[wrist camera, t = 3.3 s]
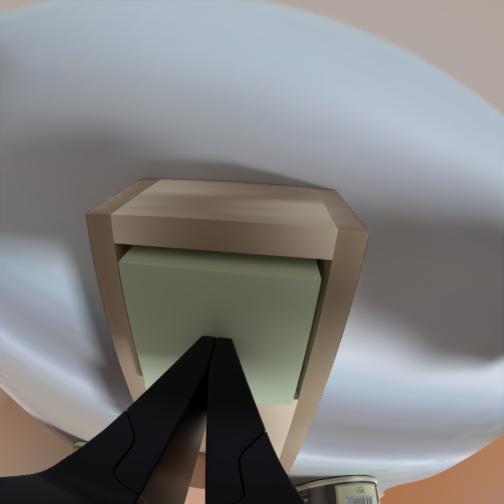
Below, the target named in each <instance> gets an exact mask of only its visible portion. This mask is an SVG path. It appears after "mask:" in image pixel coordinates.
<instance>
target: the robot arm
mask: <svg viewBox="0 0 504 504" xmlns="http://www.w3.org/2000/svg"><path fill="white" fill-rule="evenodd" d="M205 429H206V450H205V504H306V503H305V501H304V500H303V498H302V497H301V495H300V494H299V492H298V490H297V489H296V487H295V486H294V484H293V483H292V481H291V480H290V478H289V476H288V475H287V473H286V471H285V469H284V468H283V466H282V464H281V462H280V460H279V458H278V456H277V454H276V452H275V450H274V448H273V445H272V443H271V441H270V438H269V436H268V433H267V432H266V429H265V426H264V423H263V421H262V418H261V416H260V413H259V411H258V408H257V405H256V403H255V400H254V397H253V395H252V392H251V389H250V387H249V384H248V381H247V379H246V376H245V373H244V371H243V368H242V365H241V362H240V359H239V357H238V354H237V351H236V348H235V345H234V343H233V340H232V339H231V338H225V337H218V338H216V337H214V336H206V335H203V336H201V337H200V338H199V339H198V340H197V341H196V342H195V343H194V344H193V345H192V346H191V347H190V348H189V349H188V350H187V351H186V352H185V353H184V354H183V355H182V356H181V357H180V358H179V359H178V360H177V361H176V362H175V363H174V364H173V365H172V366H171V367H170V368H169V369H168V370H167V371H166V372H165V373H163V374H162V375H161V376H160V377H159V378H158V379H157V380H156V381H155V382H154V383H153V384H152V385H151V386H150V387H149V388H148V389H147V390H146V391H145V392H144V393H143V394H142V395H141V396H140V397H139V398H138V399H137V400H136V401H135V402H134V403H132V404H131V405H130V406H129V407H128V408H127V411H124V412H123V413H122V414H121V415H120V416H119V417H118V418H117V419H115V420H114V421H113V422H112V423H111V424H110V425H109V426H108V427H106V428H105V429H104V430H103V431H102V432H100V433H99V434H98V435H97V436H95V437H94V438H93V439H91V440H90V441H89V442H87V443H86V444H84V445H83V446H82V447H80V448H79V449H77V450H76V451H74V452H73V453H72V454H70V455H69V456H67V457H66V458H65V459H63V460H61V461H60V462H58V463H57V464H56V465H54V466H52V467H50V468H48V469H46V470H44V471H41V472H38V473H35V474H30V475H20V476H9V477H0V504H185V500H186V497H187V493H188V490H189V486H190V482H191V479H192V475H193V472H194V468H195V465H196V461H197V457H198V454H199V450H200V447H201V443H202V439H203V436H204V432H205Z"/></svg>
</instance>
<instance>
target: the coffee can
mask: <svg viewBox="0 0 504 504" xmlns="http://www.w3.org/2000/svg"><path fill="white" fill-rule="evenodd" d="M296 489H297V490H298V492H299V494H300V495H301V497H302V498H303V500H304V501H305V503H306V504H380V499H379V493H378V486H377V479H376V478H374V477H371V476H344V477H336V478H330V479H324V480H319V481H314V482H310V483H306V484H303V485H299V486H296Z"/></svg>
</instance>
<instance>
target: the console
mask: <svg viewBox="0 0 504 504" xmlns="http://www.w3.org/2000/svg"><path fill="white" fill-rule="evenodd" d="M86 219H87V226H88V233H89V239H90V245H91V251H92V256H93V262H94V267H95V272H96V276H97V281H98V286H99V290H100V294H101V299H102V303H103V307H104V311H105V315H106V318H107V322H108V326H109V329H110V333H111V336H112V340H113V343H114V347H115V350H116V353H117V356H118V359H119V362H120V365H121V368H122V371H123V374H124V377H125V380H126V383H127V386H128V388H129V391H130V394H131V396H132V399H133V402H135V401H136V400H137V399H138V398H139V397H140V396H141V395H142V394H143V393H144V392H145V391H146V390H147V387H146V384H145V381H144V377H143V374H142V370H141V367H140V363H139V359H138V355H137V352H136V348H135V344H134V340H133V336H132V331H131V327H130V323H129V318H128V313H127V309H126V304H125V299H124V294H123V288H122V283H121V277H120V271H119V265H118V262H119V261H120V260H121V259H122V257H123V256H124V255H125V254H126V253H127V252H128V251H129V250H130V249H131V247H132V246H133V245H144V246H156V247H169V248H182V249H195V250H208V251H221V252H234V253H247V254H260V255H273V256H287V257H300V258H313V259H316V262H317V266H318V269H319V273H320V276H321V284H320V289H319V294H318V299H317V303H316V308H315V313H314V317H313V322H312V326H311V331H310V335H309V339H308V343H307V348H306V352H305V356H304V360H303V364H302V368H301V372H300V376H299V380H298V383H297V387H296V391H295V395H294V398H293V402H292V405H281V404H261V403H256V405H257V408H258V411H259V413H260V416H261V418H262V421H263V423H264V426H265V429H266V432H267V433H268V436H269V438H270V441H271V443H272V445H273V448H274V450H275V452H276V454H277V456H278V458H279V460H280V462H281V464H282V466H283V468H284V469H285V471H286V473H287V475H288V474H289V472H290V469H291V467H292V465H293V463H294V461H295V459H296V457H297V454H298V452H299V450H300V448H301V445H302V443H303V441H304V438H305V436H306V434H307V431H308V429H309V427H310V424H311V422H312V419H313V417H314V414H315V412H316V409H317V407H318V404H319V402H320V399H321V396H322V394H323V391H324V388H325V385H326V383H327V380H328V377H329V374H330V372H331V369H332V366H333V363H334V360H335V357H336V354H337V351H338V348H339V345H340V342H341V338H342V335H343V332H344V329H345V325H346V322H347V319H348V315H349V312H350V308H351V305H352V301H353V298H354V294H355V290H356V286H357V283H358V279H359V275H360V271H361V267H362V263H363V258H364V254H365V250H366V245H367V241H368V236H369V232H368V230H367V229H366V228H365V226H364V225H363V224H362V223H361V221H360V220H359V219H358V217H357V216H356V215H355V214H354V212H353V211H352V210H351V209H350V207H349V206H348V205H347V204H346V202H345V201H344V200H343V199H342V197H341V196H340V195H339V194H338V193H337V191H334V190H325V189H315V188H305V187H295V186H284V185H272V184H258V183H244V182H227V181H206V180H176V179H141V180H139V181H137V182H136V183H134V184H132V185H130V186H129V187H127V188H125V189H124V190H122V191H121V192H119V193H117V194H116V195H114V196H112V197H111V198H109V199H108V200H106V201H104V202H103V203H101V204H100V205H98V206H97V207H95V208H94V209H92V210H91V211H89V212H87V213H86ZM205 450H206V429H205V432H204V436H203V439H202V443H201V447H200V450H199V452H202V453H205Z"/></svg>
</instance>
